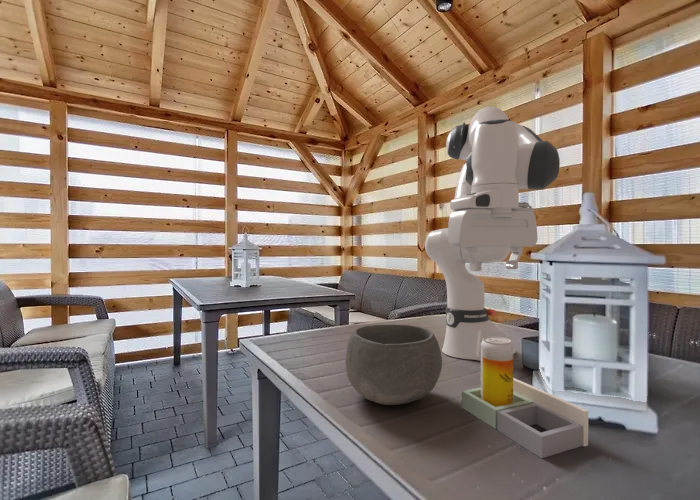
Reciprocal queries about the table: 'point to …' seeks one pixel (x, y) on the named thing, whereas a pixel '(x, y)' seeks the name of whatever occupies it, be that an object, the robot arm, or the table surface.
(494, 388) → the beer can
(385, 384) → the bowl
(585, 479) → the table surface
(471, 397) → the holder board
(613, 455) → the table surface
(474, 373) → the table surface
